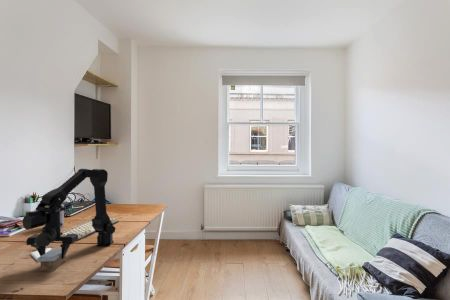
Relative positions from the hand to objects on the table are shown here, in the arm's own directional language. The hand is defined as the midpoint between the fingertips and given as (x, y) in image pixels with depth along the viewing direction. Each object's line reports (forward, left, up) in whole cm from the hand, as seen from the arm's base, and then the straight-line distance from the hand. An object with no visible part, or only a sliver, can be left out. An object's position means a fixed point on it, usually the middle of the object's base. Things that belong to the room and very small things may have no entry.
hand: (53, 259), depth 114 cm
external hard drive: (+11, -12, -4) cm, 17 cm away
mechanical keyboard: (+8, -50, -4) cm, 51 cm away
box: (0, 0, -3) cm, 3 cm away
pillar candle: (+31, -55, -4) cm, 63 cm away
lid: (0, 0, +1) cm, 1 cm away
